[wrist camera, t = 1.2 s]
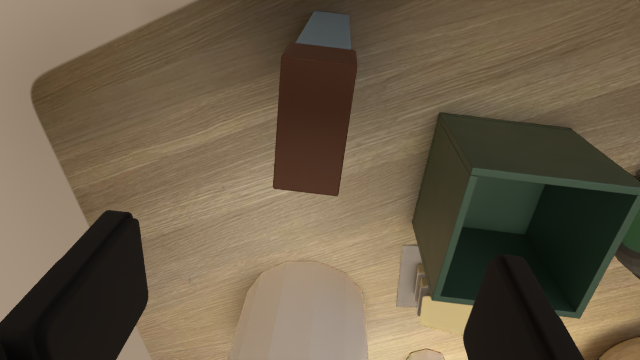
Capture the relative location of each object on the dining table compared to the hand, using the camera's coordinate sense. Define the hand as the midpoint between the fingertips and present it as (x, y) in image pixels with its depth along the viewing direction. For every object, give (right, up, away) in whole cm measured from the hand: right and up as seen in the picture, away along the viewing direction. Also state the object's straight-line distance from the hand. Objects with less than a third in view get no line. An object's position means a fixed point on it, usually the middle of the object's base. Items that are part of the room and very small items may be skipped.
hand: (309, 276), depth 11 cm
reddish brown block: (0, +7, +13) cm, 14 cm away
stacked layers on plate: (+14, -9, +37) cm, 40 cm away
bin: (+17, +3, +31) cm, 35 cm away
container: (-1, -13, +40) cm, 42 cm away
